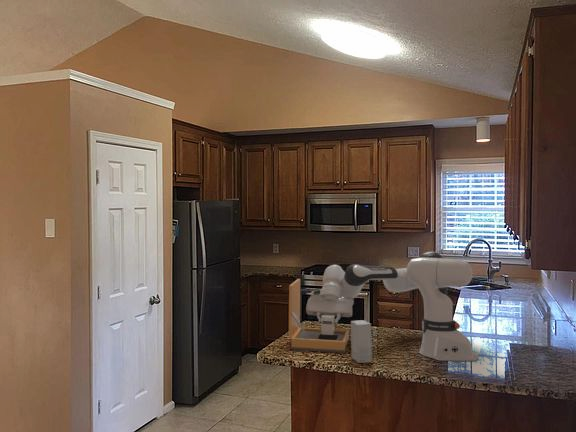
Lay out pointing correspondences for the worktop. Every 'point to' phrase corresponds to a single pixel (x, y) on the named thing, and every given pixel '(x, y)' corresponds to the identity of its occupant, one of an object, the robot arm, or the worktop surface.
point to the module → (327, 324)
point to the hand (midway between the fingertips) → (327, 323)
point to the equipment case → (311, 329)
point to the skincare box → (361, 341)
